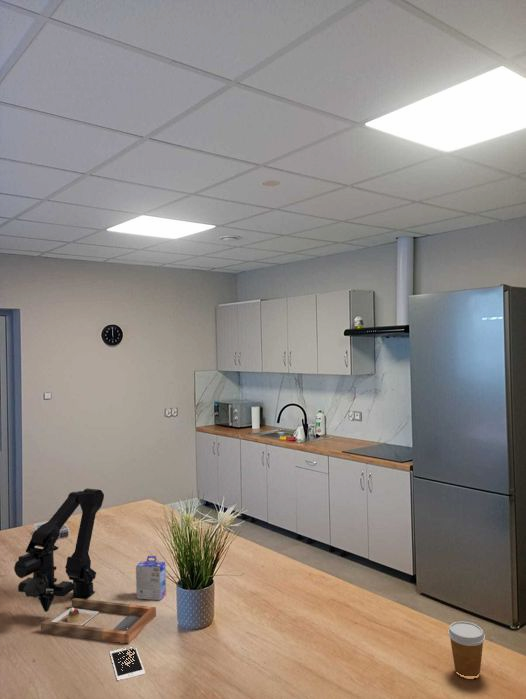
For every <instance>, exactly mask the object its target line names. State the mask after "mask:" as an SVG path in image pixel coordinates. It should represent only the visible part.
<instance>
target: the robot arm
mask: <svg viewBox="0 0 526 699" xmlns="http://www.w3.org/2000/svg"><path fill="white" fill-rule="evenodd" d="M104 499H105V494H104V492H103V490H101V489H98V488H88V487H87V488H85V489H84V490H79V491H72V492H70V493H69V494H68V496H67V498H66V499H65V501H63V503H62V504H61V505H60V506H59V508H58V509H57V511H56V512H55V513H54V514H53V515H52V516H51V518H50V519H49V520H48V521H47V522H45V523H43V524H41V525H40V526H39V527H38V528H37V529H36V530H34V532H33V533H32V535H31V539H30V541H29V542H28V545H27V547H26V549H25V553H26V554H23V555H20V556H18V560H17V561H16V562H15V564H14V567H13V569H14V573H15V574H16V576H17V577H18V578H20V579H23V578H24V579H23V580H22V581H21V582H19V583H18V586H17V590H18V592H19V593H24V594H25V597H27V598H29V597H31V598H35V599H36V598H38V600H39V601H40V604H41V606H42V609H43V611H44V612H46V613H47V612H49V611H50V607H51V605H52V603H53V600H54V598H55V597H66V596H67V595H68V594H69V593H71V592H72V595H71V596H70V599H71V600H72V599H73V598H79V599H88V598H90V597H91V596H92V595H94V594H95V592H96V591H95V590H94V582H93V581H94V580H95V579H96V576H97V572H96V571H95V570H94V569H93V568H92V566H91V563H92V560H91V557H90V553H89V552H90V545H91V541H92V537H93V536H92V535H93V531H94V530H93V529H94V526H95V519H96V516H97V513H98V512H99V510H100V509H101V508H102V506H103V503H104ZM79 506H80V509H81V513H82V514H81V518H80V523H79V528H78V534H77V537H76V538H77V539H76V543H75V547H74V552H73V553H72V554H71V556H67V558H66V564H65V567H64V569H65V573H66V575H67V578H69V580H70V581H66V580H62V581H61V582H59V583H56V582H58V578H57V577H55V571H56V570H57V566H55V561H54V560H55V558H54V552H55V551H57V550H58V549H59V546H57V545H56V542H57V541H58V539H59V537H60V533H61V529H62V527H64V525H65V524H66V523H67V521H68V520H69V519H70V517H71V516H72V515H73V514H74V512H75V511H76V510H77V508H78V507H79ZM31 574H32V577H28V576H29V575H31ZM25 577H27V578H25Z"/></svg>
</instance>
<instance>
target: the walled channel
mask: <svg viewBox="0 0 526 699" xmlns="http://www.w3.org/2000/svg"><path fill="white" fill-rule="evenodd" d="M72 607H73V608H78V609H84V610H91V611H97V612H99V613H100V612H101V613H107V612H108V614H110V613H111V614H116V613H119V615H124V614H128V615H126V617H125V618H123V619H122V621H120V622H119V623H118V624H117V625H116V626H115V627H113V629H109V628H103V627H96V626H95V627H94V626H87V625H82V626H81V624H80V625H79V624H73V623H64V622H59V621H57V622H51V621H49V620H42V621H41V622H40V632H41V633H45V634H46V633H47V634H52V635H61V636H68V637H74V638H81V639H82V638H83V639H90V640H94V641H95V640H96V641H102V642H109V643H111V642H112V643H117V642H120V643H119V644H124V643H128V644H127V645H130V644H131V643H130V642H131V641H132V640H133V639H136V637H138V636H139V634H141V632H142V631H143V630H144V629H145V628H146V627H147V626H148V625H149V624H150V623H151V622H152V621H153V620H154V619H155V618H154V617H157V607H156V606H147V605H138V604H131V603H121V602H114V601H113V602H112V601H104V600H96V599H95V600H94V599H88V598H87V599H79V598H73V599H72V598H71V608H72ZM153 618H154V619H153ZM151 620H152V621H151ZM150 621H151V622H150ZM149 622H150V623H149ZM148 623H149V624H148ZM147 624H148V625H147ZM146 625H147V626H146ZM145 626H146V627H145ZM144 627H145V628H144ZM127 628H128V629H127ZM143 628H144V629H143ZM141 630H142V631H141ZM133 641H134V640H133ZM133 641H132V642H133ZM129 643H130V644H129Z"/></svg>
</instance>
